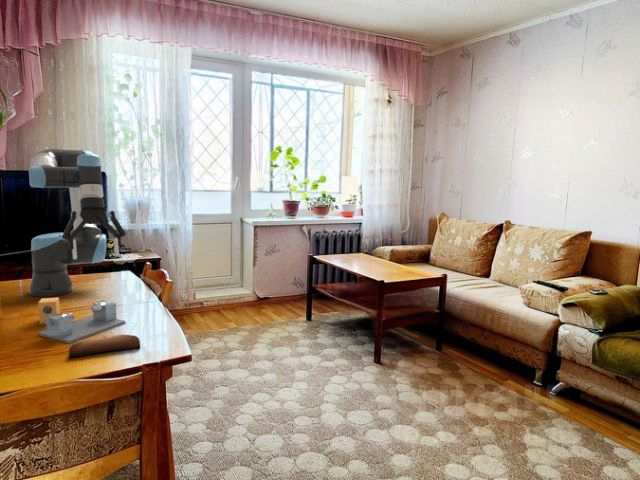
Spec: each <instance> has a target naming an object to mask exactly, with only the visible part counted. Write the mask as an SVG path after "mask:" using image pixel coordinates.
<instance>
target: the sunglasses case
mask: <svg viewBox="0 0 640 480" xmlns="http://www.w3.org/2000/svg"><path fill="white" fill-rule="evenodd" d="M139 347H140V348H141V341H140V338H139V337H138V336H136V335H132V334H116V335H112V336H108V337H107V336H103V337H97V338H88V339H82V340H79V341H77V342H76V343H73V344H72V345H71V346H70V347H69V350H68V359H71V358H77V357H82V356H87V355H92V354H95V353H105V352H110V351H121V350H125V349H126V350H127V349H133V348H139Z"/></svg>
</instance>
